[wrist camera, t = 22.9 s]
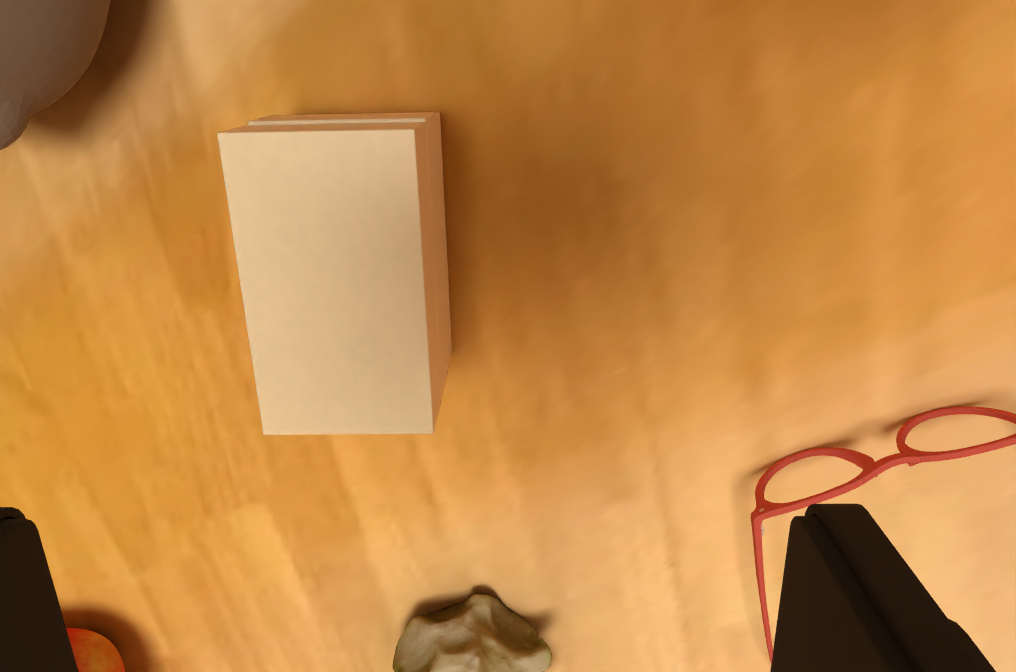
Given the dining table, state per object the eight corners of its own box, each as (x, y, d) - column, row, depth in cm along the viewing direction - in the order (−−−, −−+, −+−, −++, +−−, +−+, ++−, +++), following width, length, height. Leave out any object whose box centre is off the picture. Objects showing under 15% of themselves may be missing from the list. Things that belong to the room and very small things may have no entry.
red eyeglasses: (1027, 364, 38) (1098, 408, 33) (1066, 602, 43) (1131, 668, 39) (700, 468, 41) (722, 521, 36) (773, 680, 46) (800, 751, 41)
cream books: (289, 110, 35) (243, 120, 29) (442, 107, 34) (425, 117, 29) (318, 353, 39) (283, 404, 33) (454, 352, 39) (442, 403, 33)
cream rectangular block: (246, 125, 29) (216, 132, 26) (425, 121, 29) (414, 128, 26) (285, 403, 33) (263, 435, 30) (441, 402, 33) (433, 434, 30)
